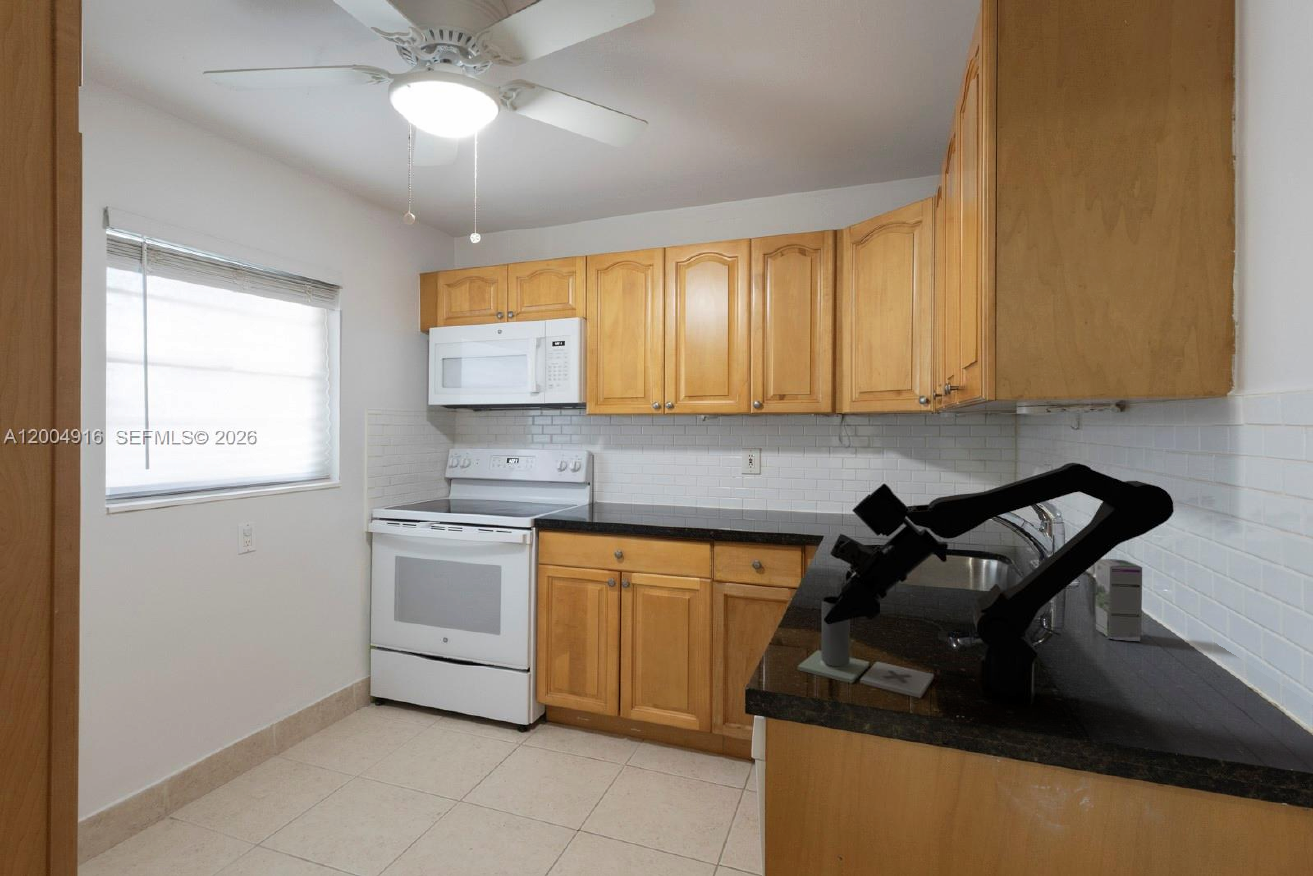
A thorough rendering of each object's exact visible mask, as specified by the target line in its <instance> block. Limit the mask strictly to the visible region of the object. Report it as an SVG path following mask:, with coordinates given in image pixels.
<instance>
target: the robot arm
mask: <svg viewBox="0 0 1313 876" xmlns="http://www.w3.org/2000/svg"><path fill="white" fill-rule="evenodd" d="M1075 493H1081V494H1084V495H1087V496H1090V497H1091V498H1094V499H1095V500H1096V499H1097V500H1099V501H1102V502H1101V503H1100V505H1099V507H1098V508H1097V510H1096V512H1095V514H1094V515H1093V517H1092V519H1091V520H1090V521H1089V522H1088V524H1086V525H1085V526H1084V527H1083V528H1081V530H1080V531H1078V532H1076V534H1075V535H1074V536H1073V537H1071V538H1070V539H1069V540H1068V541H1066V543H1065V544H1063V545H1062V546H1061V547H1060V548H1058V549H1057V550H1056V551H1055V552H1054V553H1052V554H1051V555H1050V556H1049V557H1048V558H1047V559H1045V560H1044V561H1043V562H1042V563H1041V564H1040V565H1038V566H1037V567H1036V568H1035V569H1034V570H1032V571H1031V572H1030V573H1028V575H1026V576H1025V577H1024V578H1023V579H1022V580H1020V581H1019V582H1018V583H1017V584H1015V585H1014V586H1011V587H1008V588H1006V589H1002V588H1001V587H1000V586H999V584H997V583H995V584H994V585H992V587H991V588H990V589H989V591H988V592H987V593H986V594H984V595H983V596H981V597H978V598H976V602H977V605H975V607H974V609H973V611H972V619H973V623H974V627H975V629H976V630H975V631H976V632H977V634H978V635H977V636H978V637H979V639H980V640H981V641H982V643H984V644H986V645H987V648H986V650H985V652H984V655H983V656H982V657H981V659H980V672H979V673H980V675H979V686H980V687H981V688H982V690H981V695H983V696H985V697H989V698H992V699H993V698H995V699H997V700H1003V701H1006V702H1007V701H1008V702H1009V703H1010V702H1011V703H1015V704H1020V705H1023V706H1027V707H1031V706H1032V705H1033V701H1034V697H1035V693H1036V688H1034V679H1035V678H1034V676H1035V675H1034V674H1035V673H1034V672H1035V659H1036V658H1037V656H1038V653H1037V650H1036V648H1035V647H1034V645H1033V643H1032V641H1031V639H1030V638H1029V636H1028V634H1027V633H1026V632H1027V631H1028V629H1030V627H1031V626H1032V623H1033V621H1034V619H1035V618H1036V616H1037V614H1038V612H1039V611H1040V610H1041V608H1043V607H1044V606H1045V605H1046V604H1047V603H1049V602H1051V601H1052V600H1053V598H1055V597H1056V596H1057V595H1059V594H1060V593H1061V592H1062V591H1063V590H1064V589H1065V588H1067V587H1069V585H1070V584H1072V583H1073V582H1074V581H1075V580H1076V579H1078V578H1079V577H1080V576H1082V574H1084V573H1085V572H1086V571H1087V570H1088V569H1090V568H1092V566H1094V565H1095V564H1096V562H1097V561H1098V560H1100V559H1103V557H1105V556H1106V555H1107V554H1108V553H1109V552H1111V551H1112V550H1113V549H1115V548H1116V547H1117V546H1118V545H1120V544H1122V543H1124V542H1127V541H1131V540H1132V539H1135V538H1138V537H1141V536H1142V535H1144V534H1146V533H1148V532H1150V531H1152V530H1154V529H1155V528H1157V527H1159V526H1161V525H1163V524H1164V523H1166V522H1167V521H1169V519H1170V518H1171V517H1172V516H1173V514H1174V511H1175V510H1174V501H1173V499H1172V495H1171V494H1170V493H1168V491H1167V490H1165V489H1164V488H1162V487H1160V486H1158V485H1155V484H1150V483H1147V482H1143V481H1139V480H1125V481H1124V480H1121V479H1118V478H1115V477H1112V476H1109V475H1106V474H1104V473H1102V472H1100V471H1096V470H1094V469H1092V468H1091V467H1090V466H1087V465H1085V464H1081V463H1078V462H1068V463H1066V464H1064V465H1061V466H1060V467H1058V468H1054V469H1052V470H1049V471H1046V472H1042V473H1039V474H1036V475H1032V476H1030V477H1029V476H1028V477H1026V478H1023V479H1020V480H1017V481H1013V482H1010V483H1007V484H1005V485H1004V484H1003V485H1001V486H997V487H995V488H991V489H988V490H984V491H981V492H980V491H979V492H972V493H961V494H954V495H946V496H939V497H937V498H934V499H933V500H932V501H930V502H929V503H928V504H917V505H915V504H913V505H906V504H905V503H904V502H903V501H902V500H901V498H899V497H898V496H897V495H896V494H895V493H894V492H893V490H892V489H891V487H889V486H888V485H887V484H886V483H883V484H882V485H880V486H879V487H878V488H877V489H875V490H874V491H872V492H871V494H870V493H868V494H867V496H865V497H864V498H863V499H862V500H861V501H860V502H859V503H858V504H857V505H855V506H854V508H853V509H852V512H853V513H854V514H855V515H856V516H857V517H858V518H859V519H860V520H861V521H862V522H863V523H864V524H865V526H867V527H868V528H869V529H870V530H871V532H872V533H874V534H875V535H876V536H877V537H878V536H880V535H882V536H884V537H885V536H886V537H890V536H891V535H892V534H894V532H896V531H897V530H898V529H899V528H900V527H901V526H902V525H905V526H904V527H902V529H901V530H900V531H899V532H897V533H896V534H895V535H894V536H893V537H891V538H890V539H889V540H888V541H887V542H886V543H885V544H883V545H877V546H876V547H874V549H871V548H869V547H868V546H866V545H865V544H863V543H861V542H859V541H857V540H855V539H853V538H851V537H849V536H847V535H845V534H843V533H840V534H839V535H838V537H837V539H836V541H835V543H834V545H833V548H832V550H831V552H830V555H831V556H832V557H834V558H835V559H838V560H839V559H840V560H842V561H844V562H845V563H847V564H850V566H849V568H850V569H851V570H854V571H853V572H851V571H850V570H847V571H846V573H845V582H844V581H842V582H841V587H840V590H841V591H840V593H839V594H838V595H837V597H841V598H840V599H839V600H838V601H837V603H836V604H835V605H834V606H833V608H832V609H831V610H830V611H829V613H828V614H827V615H826V617H825V618H824V621H825V622H826V623H827V624H828V625H829V624H833V623H837V622H841V621H845V620H849V619H850V620H852V619H858V618H862V617H866V618H867V619H868V620H870V621H872V620H873V619H874V618H876V617H878V615H880V614H881V610H882V600H884V598H886V596H888V593H889V591H890V590H892V589H893V588H894V587H895V586H896V585H897V584H898V583H900V582H901V583H903V582H905V581H906V580H907V579H908V575H909V574H911V573H912V572H913V571H914V570H916V569H917V568H918V567H919V566H921V564H922V563H924V562H925V561H926V560H927V559H928V558H930V557H931V556H932V555H933V554H934V555H935V556H936V558H938V559H939V560H940V561H941V562H942V563H945V562H947V561H948V560H947V550H948V547H949V545H948V544H949V543H948V542H946V541H938V540H937V539H936V537H935V536H937V537H940V538H942V539H954V538H957V537H960V536H961V535H963V534H966V533H967V532H970V531H972V530H974V529H976V528H977V527H980V526H981V525H983V524H984V523H986V522H988V521H989V520H990V519H992V518H995V517H997V516H1001V515H1004V514H1005V515H1006V514H1009V513H1011V512H1015V511H1018V510H1021V509H1025V508H1027V507H1030V506H1035V505H1037V504H1040V503H1044V502H1048V501H1051V500H1055V499H1058V498H1061V497H1065V496H1068V495H1071V494H1075ZM909 520H910V521H909ZM915 526H918V527H921V528H922V527H923V528H924V529H922V530H919V529H918V528H917V527H915ZM927 529H929V530H930V531H931V532H932V533H933V534H934V535H935V536H933V534H931V533H930V532H929V531H928V530H927Z"/></svg>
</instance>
